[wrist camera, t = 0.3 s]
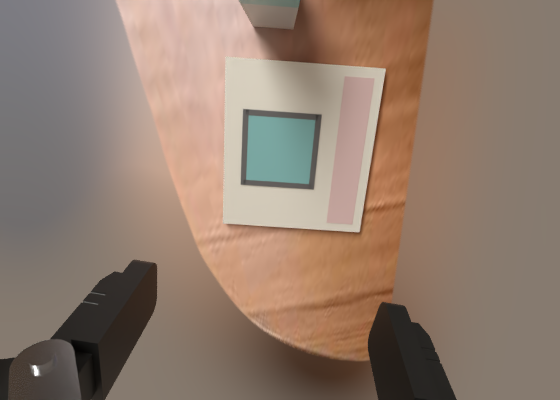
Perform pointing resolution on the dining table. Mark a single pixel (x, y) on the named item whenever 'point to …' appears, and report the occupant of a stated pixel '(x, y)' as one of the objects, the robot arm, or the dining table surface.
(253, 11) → the teal-capped square post
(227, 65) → the picture board
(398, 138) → the dining table surface
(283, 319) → the dining table surface
